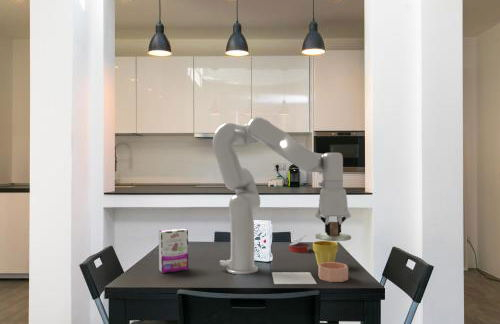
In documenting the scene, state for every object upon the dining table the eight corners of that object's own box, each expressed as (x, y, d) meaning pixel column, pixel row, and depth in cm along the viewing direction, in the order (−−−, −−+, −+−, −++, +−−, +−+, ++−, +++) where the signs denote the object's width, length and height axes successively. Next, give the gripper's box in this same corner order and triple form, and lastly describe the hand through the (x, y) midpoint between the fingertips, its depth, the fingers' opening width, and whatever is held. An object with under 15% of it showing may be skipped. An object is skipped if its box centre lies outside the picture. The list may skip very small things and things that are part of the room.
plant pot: (319, 270, 158) (319, 245, 158) (309, 264, 168) (308, 241, 168) (342, 268, 161) (342, 244, 161) (330, 262, 171) (330, 240, 171)
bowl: (322, 283, 140) (322, 269, 140) (316, 275, 151) (316, 262, 151) (350, 282, 141) (350, 269, 141) (343, 275, 151) (343, 262, 151)
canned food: (301, 262, 190) (296, 246, 187) (287, 256, 198) (281, 240, 195) (316, 249, 196) (311, 233, 193) (301, 244, 204) (296, 228, 201)
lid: (319, 241, 139) (318, 224, 139) (312, 234, 152) (312, 220, 152) (355, 240, 139) (355, 224, 139) (345, 234, 152) (345, 219, 152)
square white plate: (274, 285, 138) (274, 283, 138) (271, 273, 153) (271, 272, 153) (316, 285, 138) (316, 283, 138) (309, 273, 153) (309, 272, 153)
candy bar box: (184, 267, 163) (185, 228, 163) (188, 270, 158) (188, 229, 159) (158, 270, 158) (158, 229, 158) (161, 273, 153) (161, 231, 154)
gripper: (312, 186, 142) (312, 236, 142) (357, 185, 142) (357, 236, 142) (309, 185, 150) (309, 233, 149) (351, 185, 150) (352, 232, 150)
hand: (333, 234), depth 146 cm, fingers closed on lid, 3 cm apart
